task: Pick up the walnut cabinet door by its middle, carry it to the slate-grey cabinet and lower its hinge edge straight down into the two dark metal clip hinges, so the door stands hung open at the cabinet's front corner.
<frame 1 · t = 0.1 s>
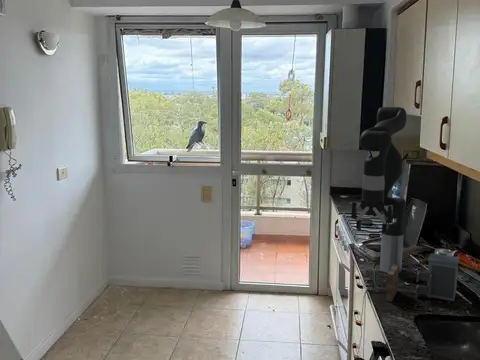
hand: (371, 231, 175), 29 cm above the worktop, tool pointing down, fingers open, 8 cm apart
slate cabinet: (441, 294, 192), on the worktop
walnut door: (391, 296, 191), on the worktop
beer glass: (440, 286, 201), on the worktop
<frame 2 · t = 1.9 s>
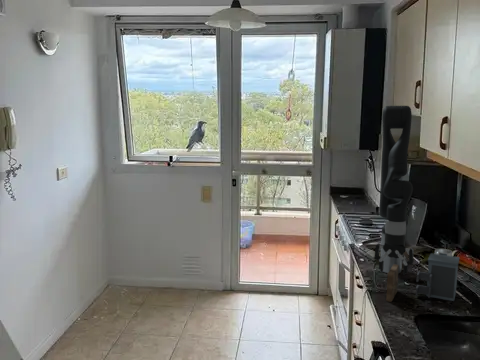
hand: (393, 272, 189), 10 cm above the worktop, tool pointing down, fingers open, 8 cm apart
nothing on the worktop moved.
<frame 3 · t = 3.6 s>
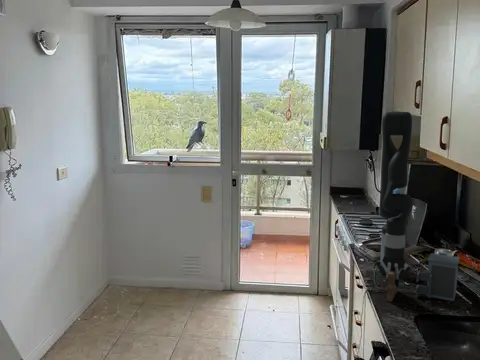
hand: (392, 287, 190), 4 cm above the worktop, tool pointing down, fingers closed on walnut door, 2 cm apart
walnut door: (391, 295, 191), on the worktop, touching gripper
everything else where it was.
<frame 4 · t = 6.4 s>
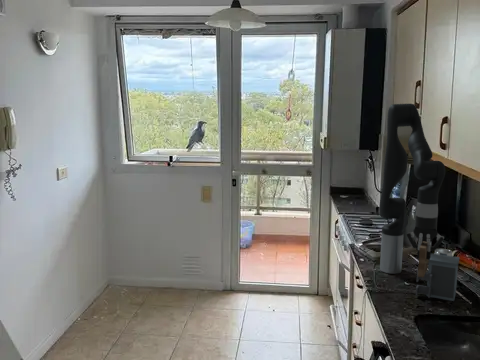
hand: (423, 259, 182), 17 cm above the worktop, tool pointing down, fingers closed on walnut door
walnut door: (422, 271, 182), point 12 cm above the worktop, touching gripper
everything else where it was.
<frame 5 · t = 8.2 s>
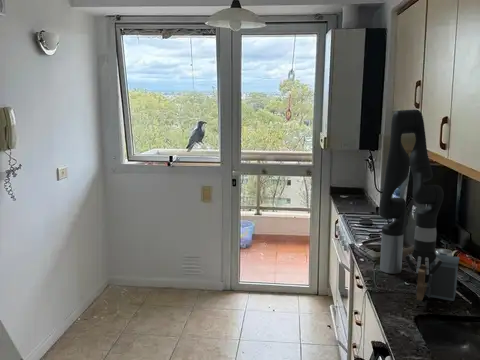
hand: (422, 282, 183), 8 cm above the worktop, tool pointing down, fingers closed on walnut door
walnut door: (421, 294, 184), point 3 cm above the worktop, touching gripper
everything else where it was.
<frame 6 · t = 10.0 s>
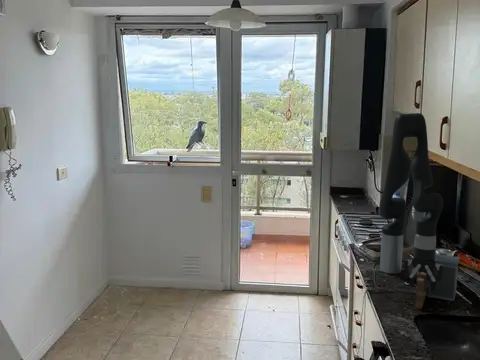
hand: (422, 288, 184), 6 cm above the worktop, tool pointing down, fingers open, 6 cm apart
walnut door: (420, 302, 184), on the worktop
everything else where it was.
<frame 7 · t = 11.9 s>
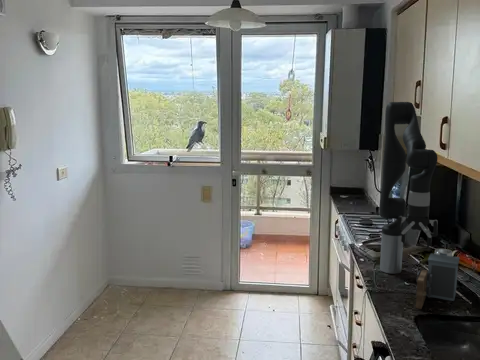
hand: (415, 245, 183), 22 cm above the worktop, tool pointing down, fingers open, 8 cm apart
nothing on the worktop moved.
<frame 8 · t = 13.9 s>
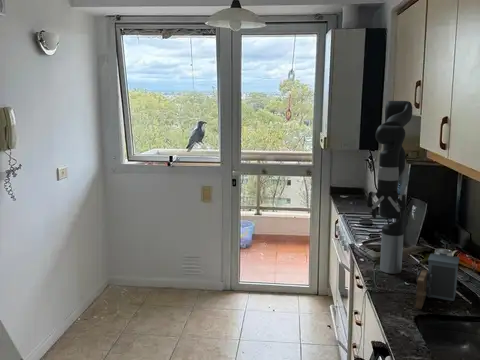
hand: (385, 219, 188), 30 cm above the worktop, tool pointing down, fingers open, 8 cm apart
nothing on the worktop moved.
at the end: walnut door 0.1 cm from the target spot, on the worktop; walnut door tilted 0°; the gripper is holding nothing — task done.
